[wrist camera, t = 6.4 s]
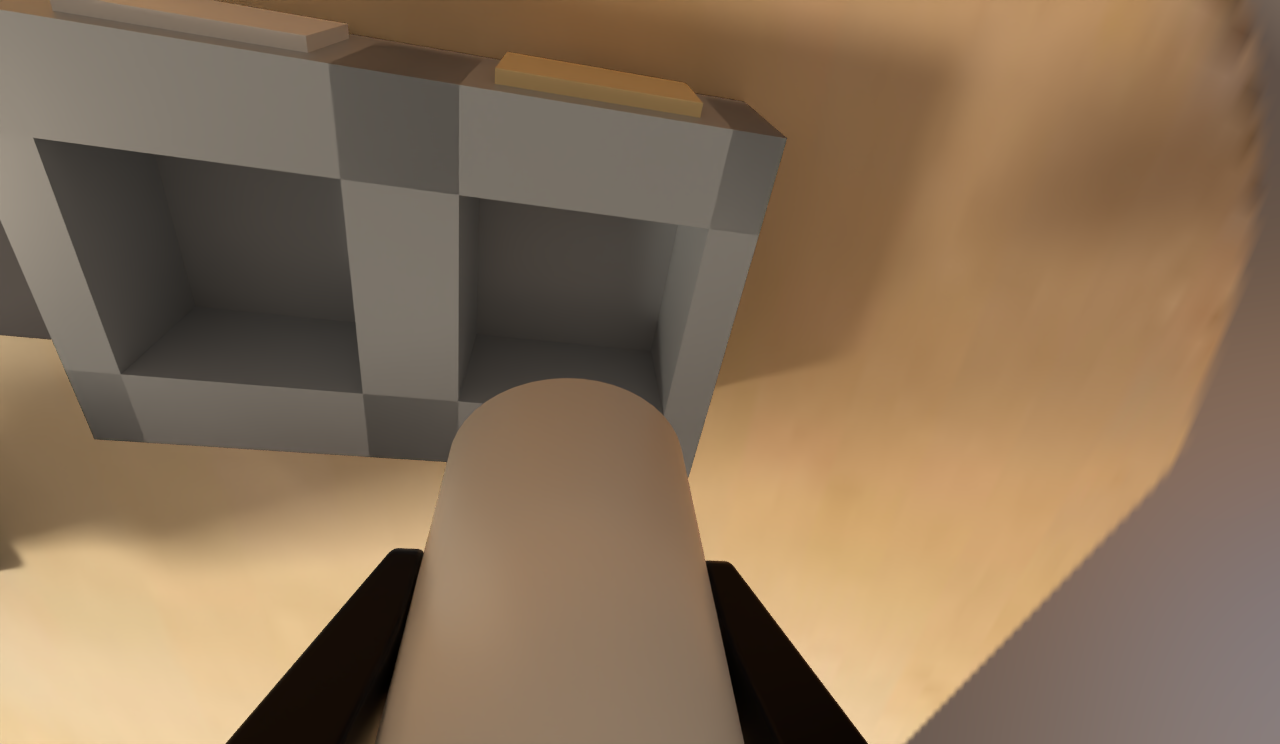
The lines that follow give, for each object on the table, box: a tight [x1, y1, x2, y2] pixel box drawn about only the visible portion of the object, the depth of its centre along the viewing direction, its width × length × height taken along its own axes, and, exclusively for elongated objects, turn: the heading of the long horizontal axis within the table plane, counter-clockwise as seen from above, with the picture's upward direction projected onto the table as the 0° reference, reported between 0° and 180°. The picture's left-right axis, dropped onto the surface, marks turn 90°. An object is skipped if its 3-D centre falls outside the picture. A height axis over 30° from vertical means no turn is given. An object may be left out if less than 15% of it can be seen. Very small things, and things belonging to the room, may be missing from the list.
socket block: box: [0, 0, 787, 477], centre depth 16 cm, size 16×10×4 cm, turn 80°
